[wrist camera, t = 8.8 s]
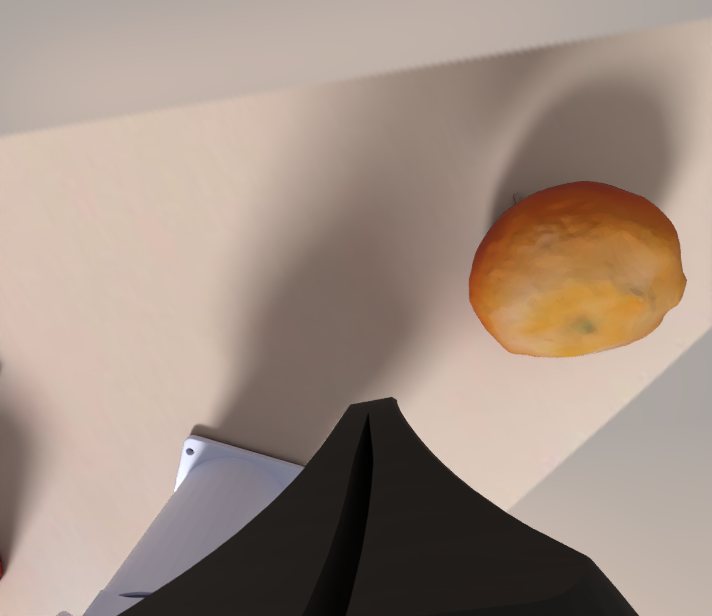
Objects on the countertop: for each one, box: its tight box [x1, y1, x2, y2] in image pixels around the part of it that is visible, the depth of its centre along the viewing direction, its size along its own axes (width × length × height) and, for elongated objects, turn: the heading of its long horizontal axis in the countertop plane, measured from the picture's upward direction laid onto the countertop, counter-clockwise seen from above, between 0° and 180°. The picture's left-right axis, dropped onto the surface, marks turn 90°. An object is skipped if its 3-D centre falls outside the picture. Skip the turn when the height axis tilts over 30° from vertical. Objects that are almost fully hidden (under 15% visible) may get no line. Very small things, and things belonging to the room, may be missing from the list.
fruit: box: [469, 181, 687, 358], centre depth 16 cm, size 8×8×8 cm
